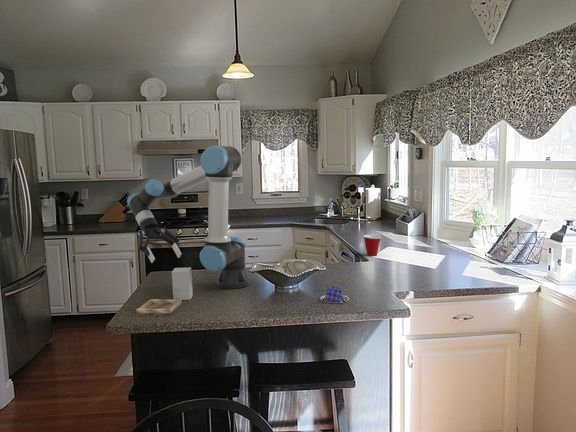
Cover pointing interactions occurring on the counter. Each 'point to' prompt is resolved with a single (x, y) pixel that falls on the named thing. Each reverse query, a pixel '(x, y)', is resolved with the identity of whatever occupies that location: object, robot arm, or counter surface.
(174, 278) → the supplement box
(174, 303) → the square wooden tray
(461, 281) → the counter surface
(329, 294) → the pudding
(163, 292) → the counter surface
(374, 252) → the plastic cup
